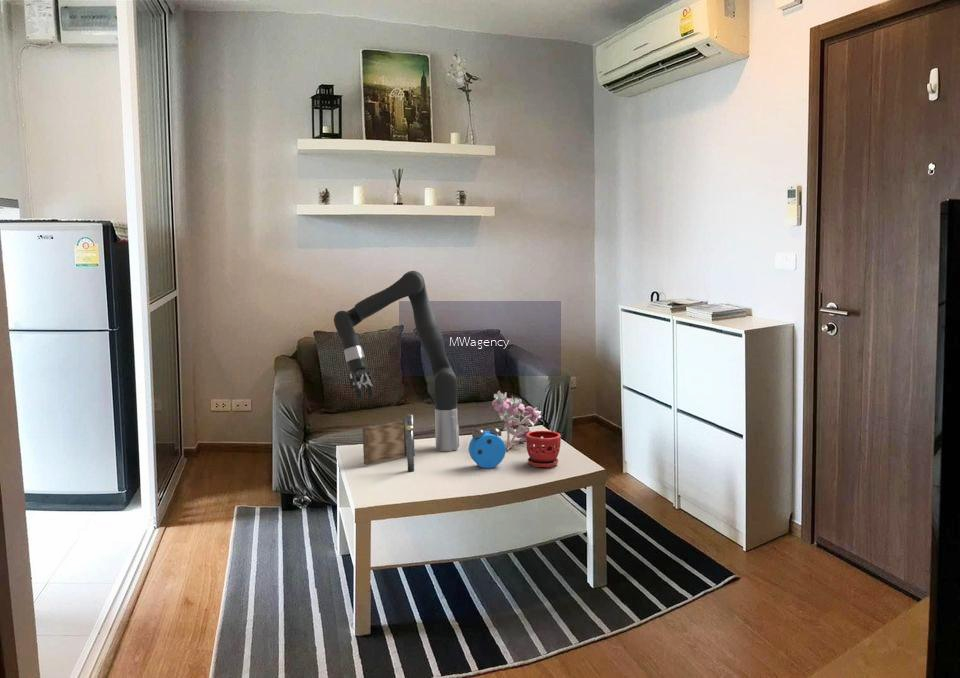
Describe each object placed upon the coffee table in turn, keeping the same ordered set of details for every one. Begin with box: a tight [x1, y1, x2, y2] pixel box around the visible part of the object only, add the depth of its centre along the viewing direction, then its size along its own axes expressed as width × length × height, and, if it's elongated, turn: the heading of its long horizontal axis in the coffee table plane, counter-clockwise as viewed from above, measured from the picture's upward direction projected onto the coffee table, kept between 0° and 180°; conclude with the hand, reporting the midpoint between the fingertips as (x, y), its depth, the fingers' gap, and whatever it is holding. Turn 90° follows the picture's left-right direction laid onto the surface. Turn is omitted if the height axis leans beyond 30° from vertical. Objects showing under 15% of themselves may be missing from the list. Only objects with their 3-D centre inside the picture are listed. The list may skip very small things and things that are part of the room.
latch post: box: [406, 425, 415, 473], centre depth 266 cm, size 3×3×17 cm
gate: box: [362, 418, 407, 466], centre depth 277 cm, size 19×2×15 cm, turn 126°
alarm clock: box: [468, 427, 507, 469], centre depth 269 cm, size 13×6×15 cm, turn 107°
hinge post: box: [406, 413, 416, 456], centre depth 284 cm, size 3×3×17 cm
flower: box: [491, 390, 542, 451], centre depth 297 cm, size 20×22×25 cm
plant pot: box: [525, 430, 562, 468], centre depth 271 cm, size 13×13×12 cm
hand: (366, 397), depth 285 cm, fingers open, 8 cm apart
